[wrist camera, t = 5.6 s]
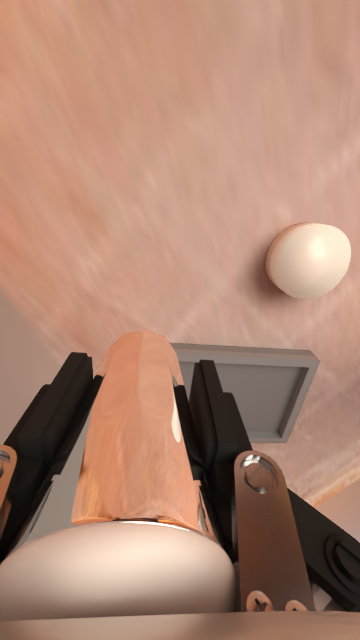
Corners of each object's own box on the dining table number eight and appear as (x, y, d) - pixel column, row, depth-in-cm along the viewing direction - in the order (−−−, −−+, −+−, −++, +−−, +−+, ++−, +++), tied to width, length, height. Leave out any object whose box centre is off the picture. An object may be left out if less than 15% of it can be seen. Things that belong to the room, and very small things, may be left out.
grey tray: (310, 350, 31) (320, 360, 29) (279, 430, 37) (286, 443, 35) (166, 342, 29) (166, 352, 27) (158, 427, 35) (158, 441, 33)
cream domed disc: (341, 226, 25) (363, 228, 22) (318, 292, 28) (334, 301, 25) (274, 218, 24) (288, 220, 21) (258, 287, 27) (268, 296, 24)
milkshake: (181, 408, 13) (227, 824, 4) (82, 380, 12) (-135, 889, 3) (220, 341, 12) (420, 787, 3) (111, 300, 10) (-178, 896, 1)
